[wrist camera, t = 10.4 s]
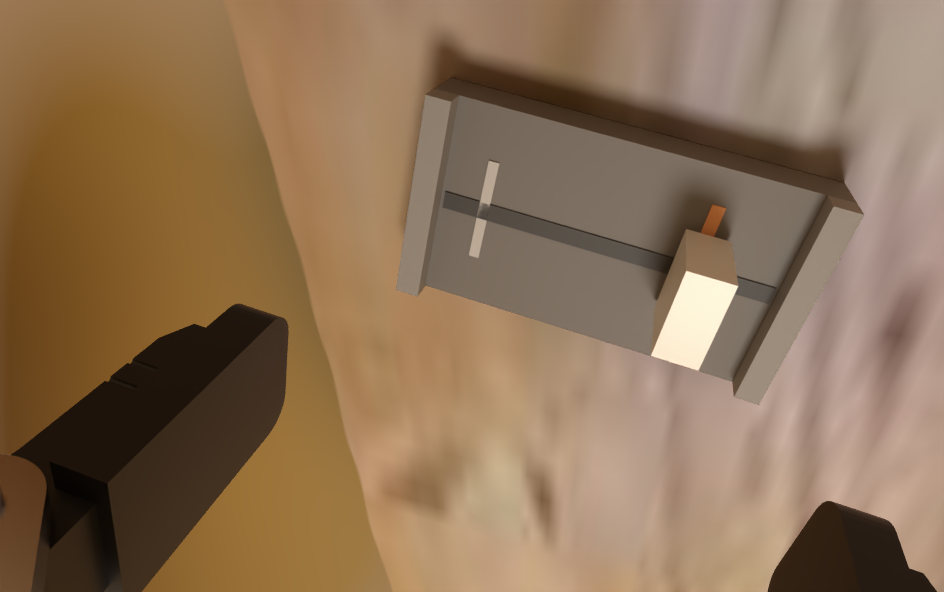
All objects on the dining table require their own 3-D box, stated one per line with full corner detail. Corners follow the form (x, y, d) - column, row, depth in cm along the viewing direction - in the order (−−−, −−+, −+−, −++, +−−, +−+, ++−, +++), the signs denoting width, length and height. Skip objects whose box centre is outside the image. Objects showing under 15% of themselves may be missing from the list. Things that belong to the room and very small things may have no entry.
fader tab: (686, 229, 35) (686, 270, 31) (731, 241, 35) (738, 286, 30) (654, 307, 38) (650, 355, 33) (696, 320, 37) (698, 370, 33)
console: (451, 77, 38) (425, 94, 34) (844, 183, 35) (863, 214, 31) (420, 258, 44) (396, 289, 41) (751, 360, 41) (758, 405, 38)
